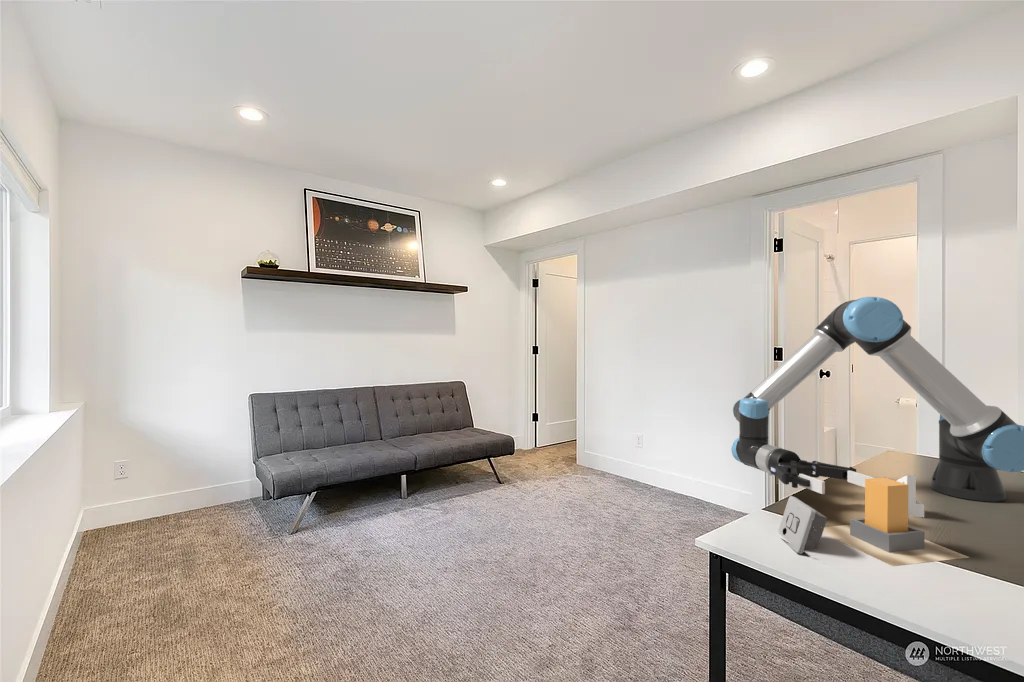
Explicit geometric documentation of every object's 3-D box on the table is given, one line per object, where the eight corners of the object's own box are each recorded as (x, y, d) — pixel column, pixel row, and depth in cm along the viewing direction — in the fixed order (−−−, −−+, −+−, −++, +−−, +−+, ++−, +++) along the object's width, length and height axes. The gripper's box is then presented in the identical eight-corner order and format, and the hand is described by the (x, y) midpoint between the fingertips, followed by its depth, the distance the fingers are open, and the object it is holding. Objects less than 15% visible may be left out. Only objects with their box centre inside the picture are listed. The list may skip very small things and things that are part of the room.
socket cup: (883, 531, 105) (883, 516, 105) (924, 548, 97) (924, 531, 96) (850, 534, 103) (850, 519, 103) (888, 552, 95) (889, 535, 95)
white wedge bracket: (918, 512, 113) (907, 475, 117) (896, 520, 121) (887, 484, 125) (936, 513, 112) (924, 475, 116) (913, 521, 120) (903, 485, 125)
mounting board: (880, 526, 110) (880, 522, 110) (969, 562, 93) (969, 557, 93) (813, 532, 107) (813, 528, 107) (892, 571, 89) (892, 565, 89)
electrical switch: (776, 536, 105) (781, 494, 105) (801, 539, 105) (806, 497, 104) (797, 555, 96) (803, 509, 96) (825, 559, 95) (830, 513, 95)
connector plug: (884, 533, 103) (885, 477, 103) (907, 543, 98) (908, 484, 98) (864, 535, 102) (865, 478, 102) (887, 545, 97) (887, 486, 97)
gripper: (818, 473, 132) (894, 498, 111) (737, 479, 127) (801, 506, 106) (818, 445, 132) (894, 466, 111) (737, 450, 127) (801, 472, 106)
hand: (849, 486), depth 109 cm, fingers open, 13 cm apart
